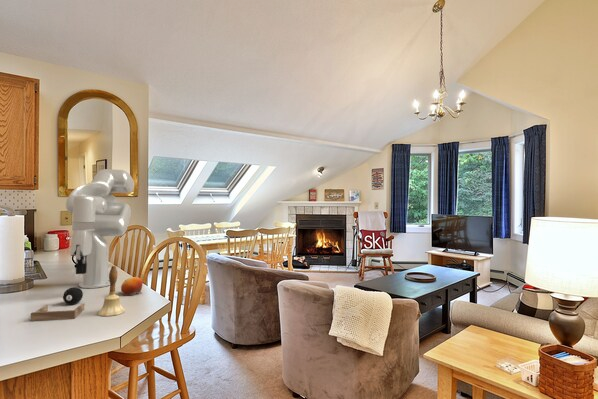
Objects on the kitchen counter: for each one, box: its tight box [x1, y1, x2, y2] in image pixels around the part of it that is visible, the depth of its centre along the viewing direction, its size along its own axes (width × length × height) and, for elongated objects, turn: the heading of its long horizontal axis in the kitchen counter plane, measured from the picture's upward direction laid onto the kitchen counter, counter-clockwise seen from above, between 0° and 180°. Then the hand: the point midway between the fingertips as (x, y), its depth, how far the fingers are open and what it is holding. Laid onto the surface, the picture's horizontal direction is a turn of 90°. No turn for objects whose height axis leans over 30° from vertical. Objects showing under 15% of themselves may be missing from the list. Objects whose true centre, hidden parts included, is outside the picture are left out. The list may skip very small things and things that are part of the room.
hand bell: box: [97, 265, 126, 317], centre depth 117 cm, size 8×8×16 cm
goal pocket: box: [30, 303, 86, 322], centre depth 112 cm, size 10×12×2 cm
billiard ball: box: [62, 287, 84, 305], centre depth 125 cm, size 6×6×6 cm
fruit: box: [120, 276, 143, 296], centre depth 140 cm, size 8×8×8 cm
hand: (81, 273), depth 133 cm, fingers closed
